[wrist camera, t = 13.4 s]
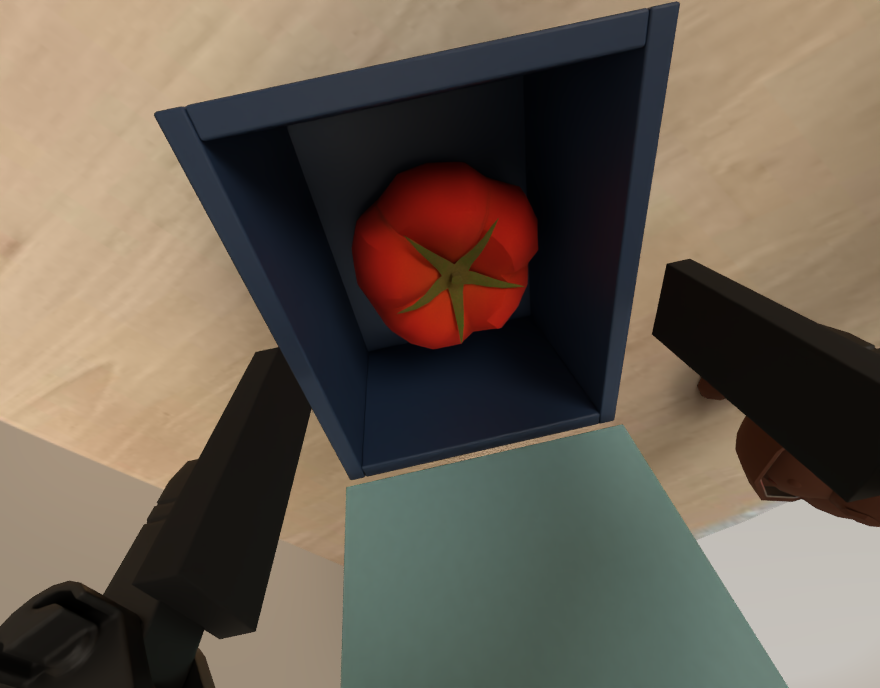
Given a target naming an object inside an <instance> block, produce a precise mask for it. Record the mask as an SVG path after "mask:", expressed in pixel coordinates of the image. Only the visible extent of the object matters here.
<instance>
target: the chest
mask: <svg viewBox="0 0 880 688" xmlns="http://www.w3.org/2000/svg"><path fill="white" fill-rule="evenodd" d="M679 6H680V3H679V2H677V1H676V2H672V3H667V4H662V5H657V6H653V7H650V8H643V9H639V10H634V11H629V12H625V13H620V14H615V15H610V16H606V17H601V18H596V19H592V20H587V21H582V22H577V23H573V24H568V25H563V26H558V27H554V28H549V29H544V30H540V31H535V32H530V33H525V34H521V35H516V36H511V37H507V38H502V39H497V40H492V41H488V42H483V43H478V44H473V45H469V46H464V47H459V48H455V49H450V50H445V51H440V52H436V53H431V54H426V55H422V56H417V57H412V58H407V59H403V60H398V61H393V62H389V63H384V64H379V65H374V66H370V67H365V68H360V69H355V70H351V71H346V72H341V73H337V74H332V75H327V76H322V77H318V78H313V79H308V80H304V81H299V82H294V83H289V84H285V85H280V86H275V87H270V88H266V89H261V90H256V91H252V92H247V93H242V94H237V95H233V96H228V97H223V98H219V99H214V100H209V101H204V102H200V103H195V104H190V105H187V106H186V107H176V108H171V109H167V110H162V111H157V112H155V113H154V116H155V118H156V120H157V122H158V124H159V126H160V128H161V129H162V131H163V133H164V135H165V137H166V139H167V141H168V142H169V144H170V146H171V148H172V150H173V152H174V154H175V155H176V157H177V159H178V161H179V163H180V165H181V167H182V168H183V170H184V172H185V174H186V176H187V178H188V180H189V181H190V183H191V185H192V187H193V189H194V191H195V192H196V194H197V196H198V198H199V200H200V202H201V204H202V205H203V207H204V209H205V211H206V213H207V215H208V217H209V218H210V220H211V222H212V224H213V226H214V228H215V230H216V231H217V233H218V235H219V237H220V239H221V241H222V243H223V244H224V246H225V248H226V250H227V252H228V254H229V256H230V257H231V259H232V261H233V263H234V265H235V267H236V269H237V270H238V272H239V274H240V276H241V278H242V280H243V282H244V283H245V285H246V287H247V289H248V291H249V293H250V295H251V296H252V298H253V300H254V302H255V304H256V306H257V308H258V309H259V311H260V313H261V315H262V317H263V319H264V321H265V322H266V324H267V326H268V328H269V330H270V332H271V334H272V335H273V337H274V339H275V341H276V343H277V345H278V347H279V348H280V350H281V352H282V354H283V355H284V357H285V359H286V361H287V363H288V365H289V366H290V368H291V370H292V372H293V374H294V376H295V378H296V379H297V381H298V383H299V385H300V387H301V389H302V391H303V392H304V394H305V396H306V398H307V400H308V402H309V404H310V405H311V407H312V410H313V412H314V413H315V415H316V417H317V419H318V421H319V423H320V424H321V426H322V428H323V430H324V432H325V434H326V436H327V437H328V439H329V441H330V443H331V445H332V447H333V449H334V450H335V452H336V454H337V456H338V458H339V460H340V462H341V463H342V465H343V467H344V469H345V471H346V473H347V475H348V476H349V478H350V480H355V479H359V478H363V477H365V475H366V476H372V475H376V474H381V473H385V472H389V471H394V470H398V469H403V468H407V467H411V466H416V465H420V464H425V463H429V462H433V461H438V460H442V459H446V458H451V457H455V456H460V455H464V454H468V453H473V452H477V451H482V450H486V449H490V448H495V447H499V446H503V445H508V444H512V443H517V442H521V441H525V440H530V439H534V438H539V437H543V436H547V435H552V434H556V433H561V432H565V431H569V430H574V429H578V428H582V427H587V426H591V425H596V424H598V423H605V422H609V421H613V420H614V418H615V411H616V405H617V399H618V392H619V386H620V380H621V373H622V367H623V361H624V354H625V348H626V342H627V335H628V329H629V323H630V316H631V310H632V304H633V297H634V291H635V285H636V278H637V272H638V266H639V259H640V253H641V247H642V240H643V234H644V228H645V222H646V215H647V209H648V203H649V196H650V190H651V184H652V177H653V171H654V165H655V158H656V152H657V146H658V139H659V133H660V127H661V120H662V114H663V108H664V101H665V95H666V89H667V82H668V76H669V70H670V63H671V57H672V51H673V44H674V38H675V32H676V25H677V19H678V13H679ZM435 162H465V163H466V164H468V165H469V166H471V167H472V168H474V169H475V170H477V171H478V172H479V173H481V174H482V175H484V176H485V177H488V178H491V179H494V180H497V181H501V182H505V183H508V184H512V185H515V186H519V187H520V188H521V189H522V191H523V192H524V193H525V195H526V197H527V199H528V201H529V203H530V205H531V207H532V209H533V211H534V213H535V215H536V217H537V219H538V251H537V252H536V254H535V255H534V256H533V258H532V259H531V260H530V261H529V263H528V284H527V286H526V289H525V291H524V293H523V296H522V298H521V301H520V303H519V306H518V307H517V309H516V310H515V311H514V313H513V314H512V315H511V316H510V318H509V319H508V320H507V322H506V323H505V324H504V326H503V327H502V328H499V329H489V330H482V331H474V332H472V333H471V334H470V335H469V336H468V337H467V338H466V339H465V340H464V341H463V342H462V344H457V345H453V346H448V347H443V348H438V349H434V350H433V349H429V348H426V347H422V346H418V345H414V344H411V343H409V342H408V341H406V340H405V339H403V338H402V337H400V336H399V335H397V334H396V333H394V332H393V331H391V330H390V329H389V328H388V327H387V326H386V325H385V323H384V322H383V320H382V319H381V317H380V316H379V314H378V313H377V311H376V310H375V308H374V307H373V305H372V304H371V302H370V301H369V300H368V298H367V297H366V295H365V294H364V293H363V291H362V290H361V288H360V287H359V286H358V284H357V279H356V273H355V267H354V261H353V255H352V243H353V238H354V232H355V227H356V221H357V220H358V219H359V217H360V216H361V215H362V214H363V213H364V212H365V211H366V210H367V209H368V208H369V207H370V206H371V205H372V204H374V203H375V202H376V201H377V200H378V199H379V197H380V196H381V195H382V193H383V192H384V191H385V190H386V188H387V187H388V186H389V184H390V183H391V182H392V180H393V179H394V178H395V176H396V175H397V174H398V173H401V172H403V171H406V170H409V169H411V168H414V167H417V166H419V165H422V164H425V163H435Z"/></svg>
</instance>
